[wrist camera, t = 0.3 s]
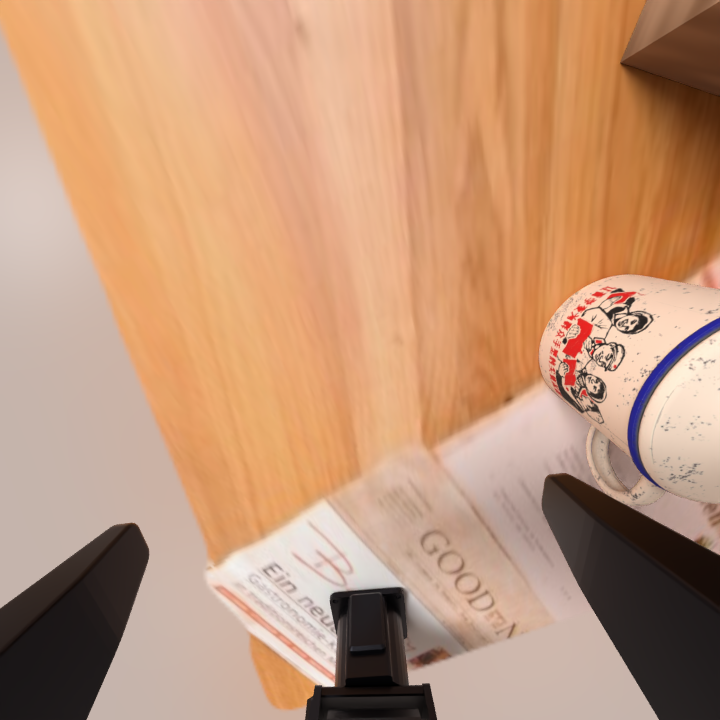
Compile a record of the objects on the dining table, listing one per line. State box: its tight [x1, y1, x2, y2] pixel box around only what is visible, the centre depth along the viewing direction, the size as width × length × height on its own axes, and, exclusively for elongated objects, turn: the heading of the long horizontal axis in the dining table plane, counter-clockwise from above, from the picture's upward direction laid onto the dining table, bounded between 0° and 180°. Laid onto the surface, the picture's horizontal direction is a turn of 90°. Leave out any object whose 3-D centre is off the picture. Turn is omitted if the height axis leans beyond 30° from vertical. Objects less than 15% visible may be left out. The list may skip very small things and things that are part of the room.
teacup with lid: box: [539, 275, 720, 506], centre depth 17 cm, size 12×9×12 cm
